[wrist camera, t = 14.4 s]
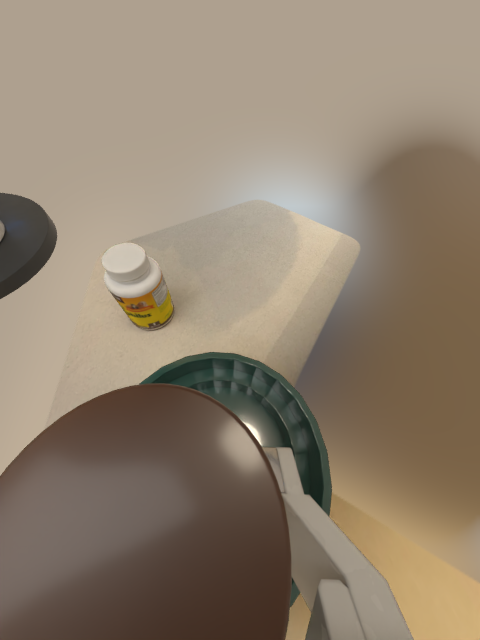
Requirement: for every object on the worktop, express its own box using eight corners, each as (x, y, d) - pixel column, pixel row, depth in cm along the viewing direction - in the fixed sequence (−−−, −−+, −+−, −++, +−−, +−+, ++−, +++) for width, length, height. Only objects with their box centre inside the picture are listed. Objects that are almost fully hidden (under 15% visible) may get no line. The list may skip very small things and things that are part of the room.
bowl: (95, 582, 18) (33, 644, 12) (150, 368, 26) (129, 346, 21) (313, 592, 18) (353, 658, 12) (297, 378, 27) (316, 358, 21)
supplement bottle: (123, 323, 29) (77, 268, 20) (147, 291, 32) (115, 230, 23) (161, 338, 28) (132, 287, 19) (182, 304, 31) (165, 245, 22)
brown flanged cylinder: (176, 502, 13) (-356, 1037, 1) (187, 430, 15) (28, 351, 3) (240, 505, 13) (372, 1052, 1) (243, 433, 15) (305, 368, 3)
